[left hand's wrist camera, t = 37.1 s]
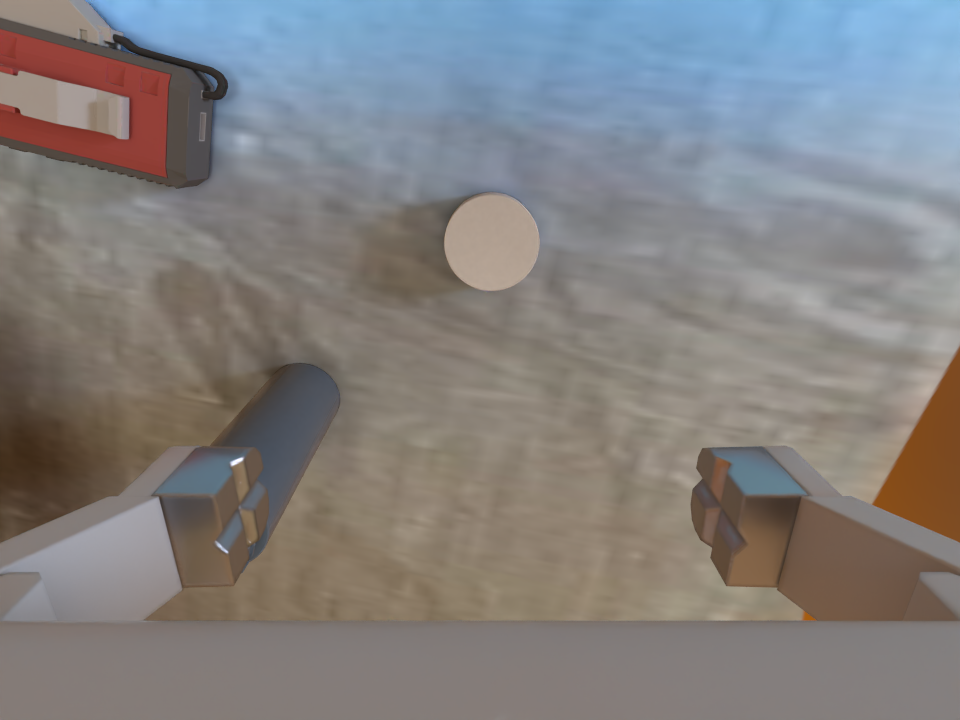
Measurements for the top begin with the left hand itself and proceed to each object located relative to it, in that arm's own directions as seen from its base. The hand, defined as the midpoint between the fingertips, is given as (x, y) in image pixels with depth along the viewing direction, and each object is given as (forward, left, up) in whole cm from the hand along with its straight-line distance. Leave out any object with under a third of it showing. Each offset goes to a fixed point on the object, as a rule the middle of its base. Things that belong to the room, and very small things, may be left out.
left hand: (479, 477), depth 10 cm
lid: (0, +1, -26) cm, 26 cm away
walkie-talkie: (-6, -26, -27) cm, 38 cm away
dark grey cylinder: (+13, -11, -27) cm, 32 cm away
